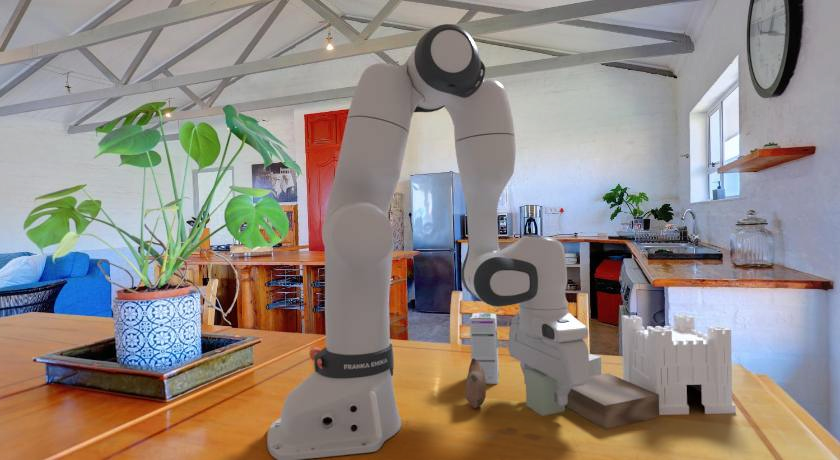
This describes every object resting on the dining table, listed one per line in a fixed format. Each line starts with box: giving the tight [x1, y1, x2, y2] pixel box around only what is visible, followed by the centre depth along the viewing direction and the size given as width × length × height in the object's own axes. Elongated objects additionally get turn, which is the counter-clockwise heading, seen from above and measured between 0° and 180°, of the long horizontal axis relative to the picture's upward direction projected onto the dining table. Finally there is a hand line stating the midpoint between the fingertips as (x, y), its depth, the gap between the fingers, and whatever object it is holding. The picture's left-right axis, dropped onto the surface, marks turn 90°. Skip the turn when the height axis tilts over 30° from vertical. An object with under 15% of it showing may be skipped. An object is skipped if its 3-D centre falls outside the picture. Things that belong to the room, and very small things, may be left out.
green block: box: [525, 368, 566, 417], centre depth 82 cm, size 5×5×7 cm
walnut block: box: [565, 372, 660, 430], centre depth 81 cm, size 12×12×4 cm
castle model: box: [621, 313, 737, 416], centre depth 85 cm, size 14×14×15 cm
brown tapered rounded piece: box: [464, 358, 487, 409], centre depth 85 cm, size 9×4×8 cm, turn 175°
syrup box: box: [469, 312, 500, 385], centre depth 98 cm, size 6×6×14 cm
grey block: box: [588, 353, 602, 377], centre depth 94 cm, size 5×5×6 cm
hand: (544, 394), depth 82 cm, fingers open, 8 cm apart
